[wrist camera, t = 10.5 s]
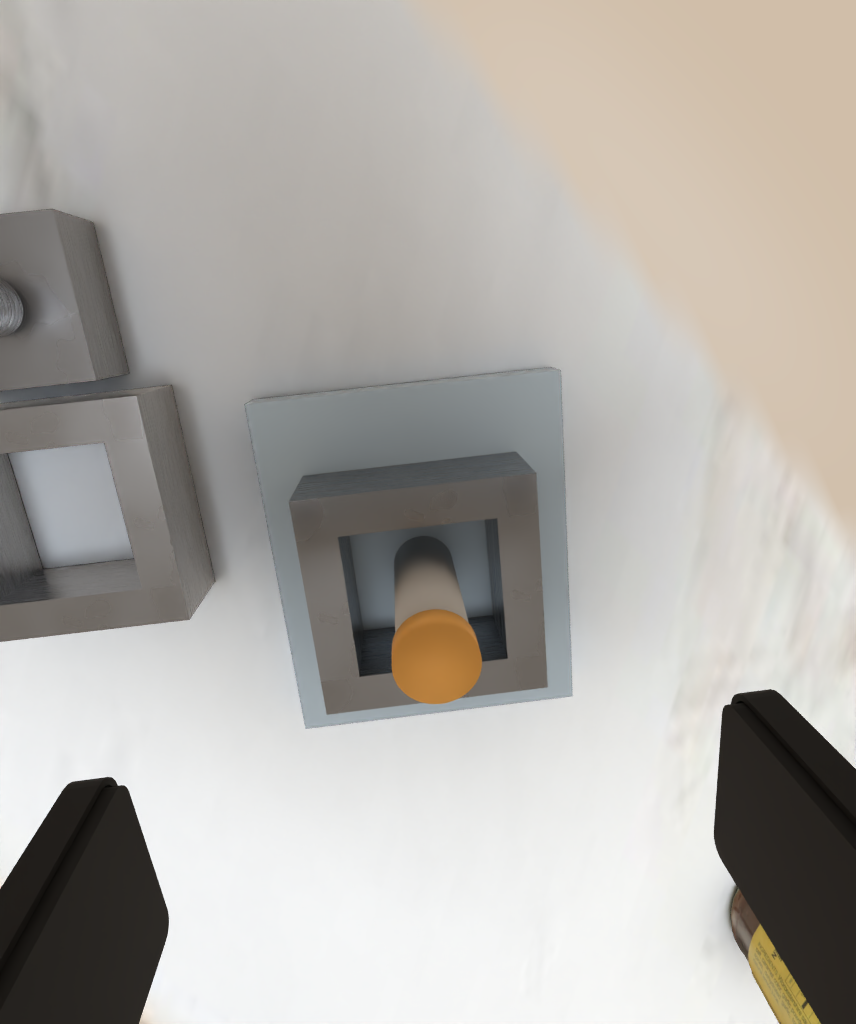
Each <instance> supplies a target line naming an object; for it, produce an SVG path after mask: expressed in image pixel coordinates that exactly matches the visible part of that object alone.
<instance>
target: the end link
mask: <svg viewBox="0 0 856 1024" xmlns="http://www.w3.org/2000/svg"><path fill="white" fill-rule="evenodd" d="M289 507H290V512H291V518H292V523H293V529H294V535H295V540H296V546H297V551H298V557H299V563H300V568H301V574H302V579H303V585H304V591H305V596H306V602H307V607H308V613H309V619H310V624H311V630H312V635H313V641H314V647H315V652H316V658H317V663H318V669H319V675H320V680H321V686H322V691H323V697H324V703H325V708H326V714H327V715H330V714H338V713H346V712H354V711H362V710H370V709H378V708H386V707H394V706H403V705H411V704H419V703H422V702H419V701H416V700H414V699H412V698H410V697H409V696H407V695H406V694H405V693H404V692H403V691H402V690H401V689H400V688H399V687H398V685H397V683H396V682H395V679H394V677H393V673H392V641H393V638H394V635H395V627H388V628H380V629H371V630H363V623H362V617H361V610H360V603H359V597H358V590H357V583H356V577H355V570H354V564H353V557H352V550H351V544H350V537H349V535H357V534H366V533H374V532H383V531H392V530H400V529H409V528H417V527H426V526H434V525H443V524H451V523H460V522H468V521H477V520H485V527H486V539H487V552H488V564H489V576H490V589H491V601H492V614H493V615H487V616H479V617H471V618H468V622H469V624H470V625H471V627H472V628H473V630H474V632H475V634H476V638H477V641H478V645H479V649H480V652H481V657H482V668H481V673H480V676H479V678H478V680H477V682H476V684H475V685H474V686H473V687H472V689H471V690H470V691H469V692H468V693H466V694H465V695H464V696H462V697H460V698H467V697H475V696H483V695H491V694H499V693H507V692H515V691H523V690H531V689H539V688H547V687H548V681H547V662H546V643H545V624H544V605H543V586H542V567H541V549H540V530H539V511H538V492H537V473H536V472H535V471H534V470H533V469H532V468H531V467H530V466H529V464H528V463H527V462H526V461H525V460H524V459H523V458H522V457H521V456H520V455H519V454H518V453H517V452H516V451H514V452H505V453H497V454H488V455H479V456H471V457H462V458H453V459H444V460H436V461H427V462H418V463H410V464H401V465H392V466H383V467H375V468H366V469H357V470H349V471H340V472H331V473H322V474H314V475H305V476H302V478H301V480H300V482H299V484H298V485H297V487H296V489H295V491H294V493H293V495H292V496H291V498H290V500H289Z"/></svg>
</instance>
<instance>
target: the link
mask: <svg viewBox="0 0 856 1024" xmlns="http://www.w3.org/2000/svg"><path fill="white" fill-rule="evenodd" d="M95 443H104V444H105V448H106V452H107V456H108V459H109V463H110V467H111V471H112V475H113V479H114V482H115V486H116V490H117V494H118V498H119V502H120V505H121V509H122V513H123V517H124V521H125V525H126V529H127V532H128V536H129V540H130V544H131V548H132V552H133V555H134V559H128V560H119V561H110V562H101V563H93V564H84V565H75V566H66V567H58V568H49V569H43V568H42V564H41V561H40V558H39V555H38V551H37V548H36V545H35V542H34V538H33V535H32V532H31V529H30V526H29V522H28V519H27V516H26V513H25V509H24V506H23V503H22V500H21V496H20V493H19V490H18V487H17V484H16V480H15V477H14V474H13V471H12V467H11V464H10V461H9V458H8V454H7V453H13V452H22V451H31V450H40V449H49V448H59V447H68V446H77V445H86V444H95ZM214 582H215V578H214V574H213V569H212V565H211V560H210V556H209V551H208V547H207V542H206V538H205V533H204V529H203V524H202V520H201V515H200V511H199V506H198V501H197V497H196V492H195V488H194V483H193V479H192V474H191V470H190V465H189V461H188V456H187V452H186V447H185V443H184V438H183V434H182V429H181V425H180V420H179V416H178V411H177V407H176V402H175V397H174V393H173V388H172V385H166V386H157V387H147V388H138V389H129V390H119V391H110V392H101V393H92V394H82V395H73V396H64V397H54V398H45V399H36V400H27V401H17V402H8V403H0V642H3V641H11V640H20V639H28V638H37V637H46V636H54V635H63V634H71V633H80V632H88V631H97V630H105V629H114V628H122V627H131V626H139V625H148V624H156V623H165V622H174V621H182V620H190V618H191V617H192V615H193V614H194V612H195V611H196V609H197V608H198V606H199V605H200V603H201V602H202V600H203V599H204V597H205V596H206V594H207V593H208V591H209V590H210V588H211V587H212V585H213V584H214Z"/></svg>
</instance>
